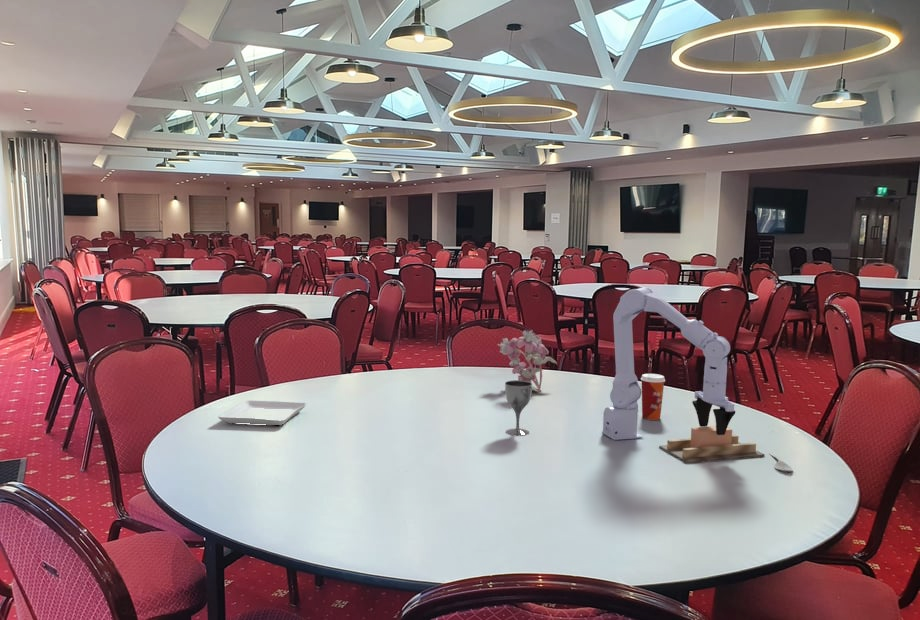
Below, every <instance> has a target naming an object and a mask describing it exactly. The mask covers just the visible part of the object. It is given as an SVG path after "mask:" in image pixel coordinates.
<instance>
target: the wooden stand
mask: <svg viewBox="0 0 920 620" xmlns="http://www.w3.org/2000/svg"><path fill="white" fill-rule="evenodd" d="M666 442H667V443H666V444H663V445H662V444H661V445H659V449H661V450H662V449H663V450H662V451H664V452H666V453H668V454H669V455H671V456H673V457H675V458H676V459H678V460H679V461H682V462H683V463H685V464H696V463H704V462H705V463H707V462H717V461H718V462H719V461H729V460H731V461H732V460H739V459H750V458H751V459H752V458H762V457H765V456H766V454H764V453H763V452H760V451H758V450H757V444H756V443H755V442H745V443H741V442H739V436H738V435H737V434H732V444H731V445H719V446H707V447H695V448H690V446H691V437H690V438H678V439H667V441H666Z"/></svg>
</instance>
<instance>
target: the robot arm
mask: <svg viewBox="0 0 920 620" xmlns="http://www.w3.org/2000/svg"><path fill="white" fill-rule="evenodd" d="M616 306H617V307H616V308H615V310H614V312H613V317H612V321H613V338H614V339H613V340H614V356H615V357H614V358H615V359H614V360H615V376H614V378H613V380H612V388H611V390H610V394H609V398H610V399H609V400H610V402H611V403H612V405H611V406H607V407H605V408H604V410H603V417H602V418H603V419H602V421H603V422H602V430H601V433H602V434H604V435H605V436H606V437H609V438H610V439H612V440H613V441H617V440H618V441H619V440H630V439H631V440H633V439H642V438H644V437H643V435H641V434H640V433H639V432H638V416H639V415H638V414H639V404H638V400H640V399H641V398H642V387H641V386H640V385H639V381H638V377H637V375H636V374H635V360H634V359H635V357H634V338H633V337H634V334H633V320H634V319H635V318H636V317H637V316H638V315H639V314H640V313H642V312H652V313H658V314H659V315H660V316H662V317H663V318H664V319H666V320H667V321H668V322H670V323H672V324H673V325H674V326H676V327H677V328H679V329H680V332H681V336H682V337H683V338H684V339H686V340H687V341H689V342H690V343H691V344H692V345H694V346H695V347H696V348H697V349H699V350H702V353H703V356H704V357H705V358H704V359H705V360H704V361H705V362H704V368H703V371H704V372H703V373H704V374H703V384H702V385H703V386H702V387H703V388H702V391H701V390H699V391H694V399H695V400H692V401H691V403H692V406H693V407H694V409H695V412H696V415H697V420H698V424H699V425H698V426H699V427H708V425H709V421H710V414H711V411H712V412H713V414H714V415H713V416H714V419H715V426H716V433H717V435H725V432H726V429H727V428H729V427H728V425H730V422H731V420H732V419H733V417H734V416H735V414H736V410H735V404H734V403H733V402H731V401H729V397H727V396H726V391H727V390H726V389H727V374H728V355H729V353H730V352H731V344H730V343H729V341H728V340H727V338H726V337H724V336H719V334H718V333H717V332H713V331H712V330H710V329H709V328H707V327H706V326H705V325H704V324H705V323H704V321H703V320H701V319H700V320H697V319H695V318H694V319H688V317H686V316H685V315H684V314H682V313H681V312H680V311H679V310H677V308H675V307H674V306H673V305H672V304H670V303H669V302H668V301H667V300H665V299H664V298H663V297H662V296H661V295H660V294H658V293H657V292H654V291H653V290H652V289H650V288H649V287H639V288H633V289H629V290H627V291H626V292H625V293H623V294H622V295H621V296H620V299H619V302H618V304H617V305H616ZM713 406H715V407H717V408H714V409H712V407H713Z"/></svg>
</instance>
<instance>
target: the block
mask: <svg viewBox="0 0 920 620" xmlns="http://www.w3.org/2000/svg"><path fill="white" fill-rule="evenodd" d="M690 433H691V434H690V438H691V446H690V448H695V447H707V446H719V445H731V444H732V435H733V429H731V428H729V427H727V429H726V432H725V435H717V433H716V425H713V426H712V425H711V426H710V425H709V426H705V427H700V426H699V427H691V431H690Z"/></svg>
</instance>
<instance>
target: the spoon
mask: <svg viewBox="0 0 920 620" xmlns="http://www.w3.org/2000/svg"><path fill="white" fill-rule="evenodd" d="M768 454H769V455H770V456H772V457H773V458H774V459H776V460H777V462H776V463H775V464H774V468H775V469H776V470H778V471H780V472H784V473H786V472H787V473H788V472H793V470H794V469H793V468H792V467H791V465H788V464H787V463H786V462H784V460H782V459H781V458H780V457H779V455H778V454H777V453H775V452H773V451H769V452H768Z"/></svg>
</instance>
